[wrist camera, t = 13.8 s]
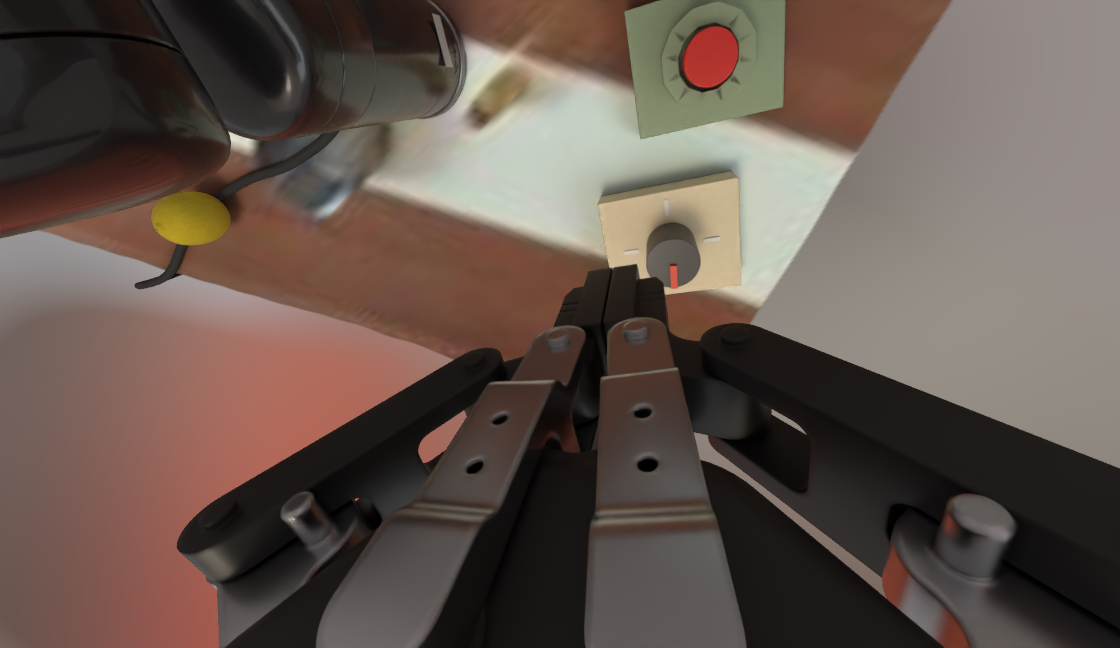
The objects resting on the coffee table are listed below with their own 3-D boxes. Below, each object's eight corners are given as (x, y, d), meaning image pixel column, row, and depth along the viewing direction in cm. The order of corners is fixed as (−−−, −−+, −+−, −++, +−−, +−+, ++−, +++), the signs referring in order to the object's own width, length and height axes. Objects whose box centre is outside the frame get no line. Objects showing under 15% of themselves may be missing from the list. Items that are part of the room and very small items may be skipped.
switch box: (640, 136, 37) (640, 142, 33) (625, 15, 32) (622, 7, 29) (775, 105, 34) (790, 107, 30) (777, -33, 29) (794, -48, 26)
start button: (684, 92, 31) (686, 93, 30) (679, 37, 30) (681, 35, 28) (734, 80, 30) (738, 80, 29) (732, 22, 29) (737, 18, 27)
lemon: (206, 174, 47) (131, 190, 40) (251, 205, 48) (185, 225, 41) (200, 212, 49) (129, 233, 43) (242, 240, 50) (180, 265, 44)
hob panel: (617, 288, 44) (615, 301, 42) (600, 196, 40) (597, 204, 37) (735, 272, 41) (741, 286, 39) (732, 170, 37) (738, 177, 34)
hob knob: (644, 225, 37) (644, 243, 33) (694, 219, 36) (700, 236, 32) (648, 270, 40) (648, 291, 36) (696, 265, 38) (701, 287, 34)
